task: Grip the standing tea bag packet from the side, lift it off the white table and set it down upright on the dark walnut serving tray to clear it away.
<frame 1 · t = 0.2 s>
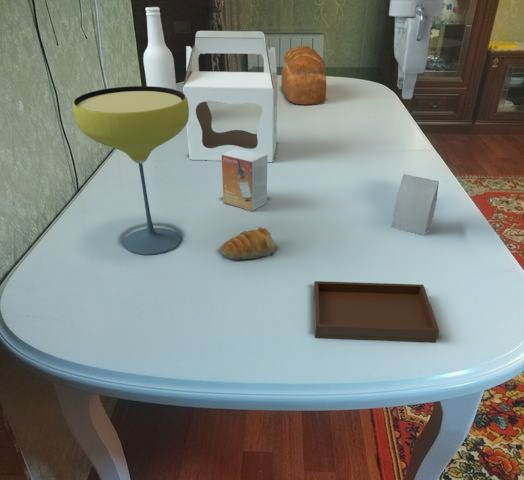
hand: (404, 93, 94), 22 cm above the table, tool pointing down, fingers open, 8 cm apart
bread: (302, 96, 185), on the table
small box: (245, 204, 110), on the table
cocktail glass: (152, 242, 96), on the table
tea bag: (410, 228, 101), on the table
alcohol: (165, 122, 160), on the table
gable box: (234, 154, 136), on the table
pastry: (250, 253, 93), on the table
tray: (370, 315, 77), on the table
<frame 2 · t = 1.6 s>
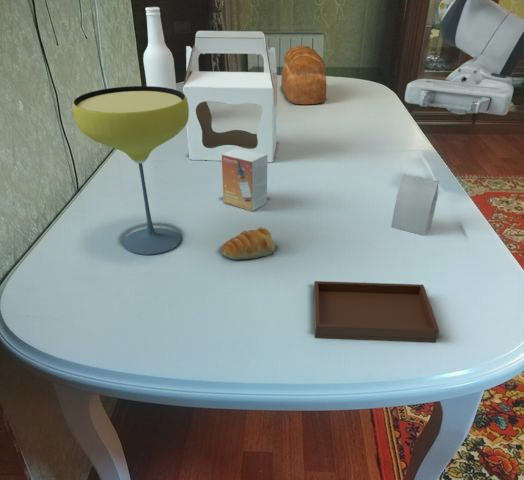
hand: (448, 105, 96), 20 cm above the table, tool horizontal, fingers open, 8 cm apart
nothing on the table moved.
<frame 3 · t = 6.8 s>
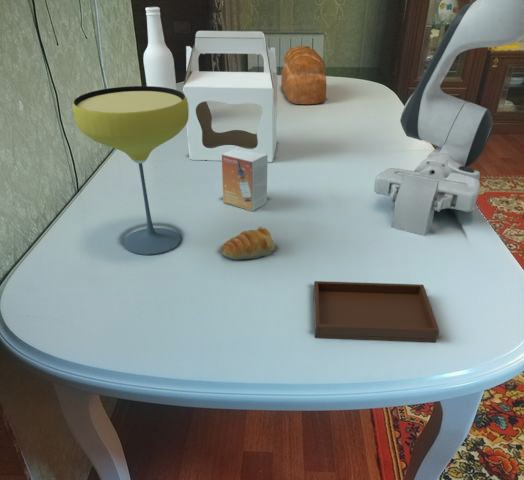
hand: (414, 202, 96), 6 cm above the table, tool horizontal, fingers closed on tea bag, 7 cm apart
tea bag: (410, 228, 101), on the table, touching gripper
everything else where it was.
when the fingers open (6 cm above the table, at t = 17.1 s): tea bag stays where it is, resting on tray.
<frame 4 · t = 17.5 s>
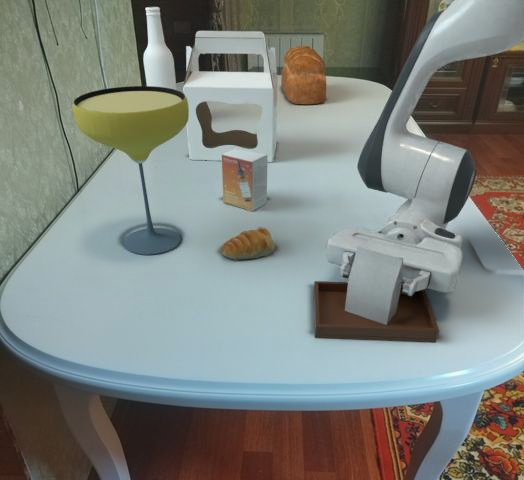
hand: (374, 282, 72), 6 cm above the table, tool horizontal, fingers open, 8 cm apart
tea bag: (370, 312, 77), resting on tray
everything else where it was.
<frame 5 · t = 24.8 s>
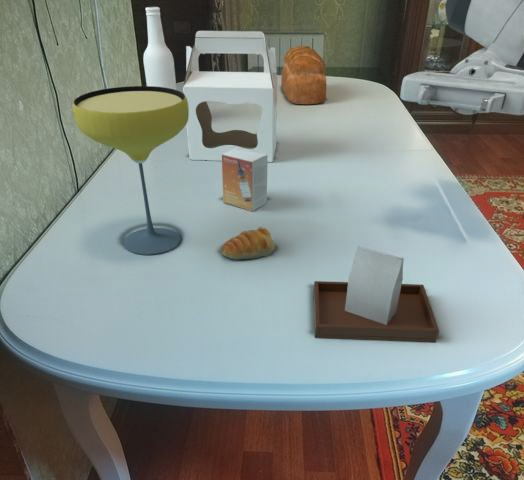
hand: (453, 102, 78), 25 cm above the table, tool horizontal, fingers open, 8 cm apart
nothing on the table moved.
at the end: tea bag inside the target area in the tray (0.2 cm from its centre), point 0.4 cm above the tray's base; tea bag tilted 0°; the gripper is holding nothing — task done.
